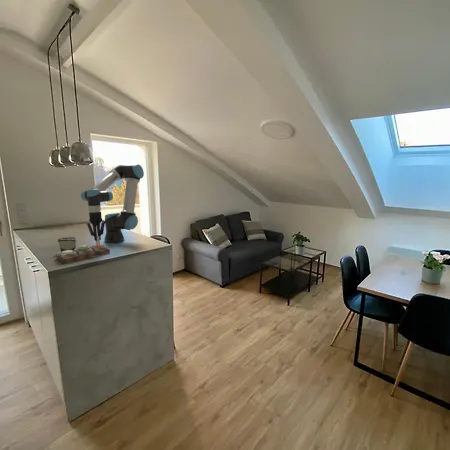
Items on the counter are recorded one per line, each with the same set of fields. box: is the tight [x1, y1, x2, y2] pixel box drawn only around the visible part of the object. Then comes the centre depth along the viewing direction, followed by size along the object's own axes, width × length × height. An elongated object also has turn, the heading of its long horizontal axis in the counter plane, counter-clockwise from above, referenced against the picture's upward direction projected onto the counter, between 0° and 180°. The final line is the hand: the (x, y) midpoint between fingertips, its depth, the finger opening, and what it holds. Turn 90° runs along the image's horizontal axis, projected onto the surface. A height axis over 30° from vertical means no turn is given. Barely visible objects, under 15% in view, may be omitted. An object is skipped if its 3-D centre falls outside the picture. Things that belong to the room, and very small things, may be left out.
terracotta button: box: [93, 243, 104, 248], centre depth 185 cm, size 6×6×2 cm
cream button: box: [62, 250, 72, 255], centre depth 170 cm, size 6×6×2 cm
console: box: [55, 244, 111, 265], centre depth 178 cm, size 29×14×5 cm, turn 139°
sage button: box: [77, 244, 89, 251], centre depth 178 cm, size 6×6×2 cm
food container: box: [57, 236, 77, 252], centre depth 188 cm, size 12×6×10 cm, turn 92°
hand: (98, 244), depth 185 cm, fingers closed
